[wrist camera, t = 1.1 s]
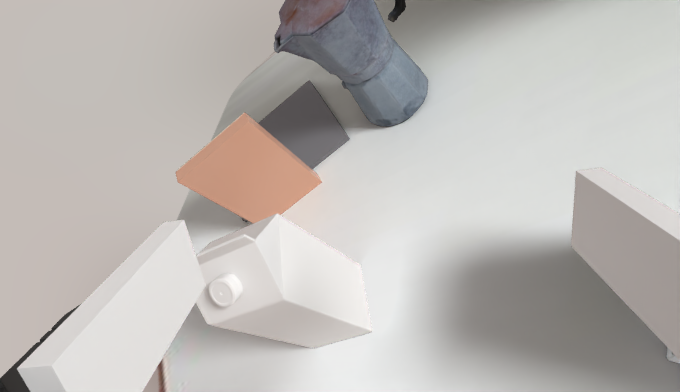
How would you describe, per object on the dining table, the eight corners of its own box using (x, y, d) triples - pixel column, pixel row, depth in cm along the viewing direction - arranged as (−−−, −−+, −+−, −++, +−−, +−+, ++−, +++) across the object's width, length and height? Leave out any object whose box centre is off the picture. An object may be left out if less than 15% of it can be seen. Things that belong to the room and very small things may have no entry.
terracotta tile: (316, 171, 53) (244, 110, 42) (321, 182, 52) (249, 121, 41) (258, 217, 54) (175, 169, 44) (262, 228, 53) (177, 182, 42)
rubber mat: (311, 82, 61) (309, 80, 60) (349, 139, 52) (347, 136, 52) (223, 157, 64) (220, 155, 63) (245, 222, 55) (242, 220, 55)
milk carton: (306, 284, 46) (172, 225, 32) (362, 264, 44) (243, 191, 29) (313, 349, 42) (164, 316, 28) (374, 332, 40) (245, 286, 25)
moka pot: (334, 124, 55) (231, 11, 39) (412, 37, 54) (338, -111, 39) (378, 158, 49) (277, 40, 33) (466, 61, 48) (405, -105, 33)
